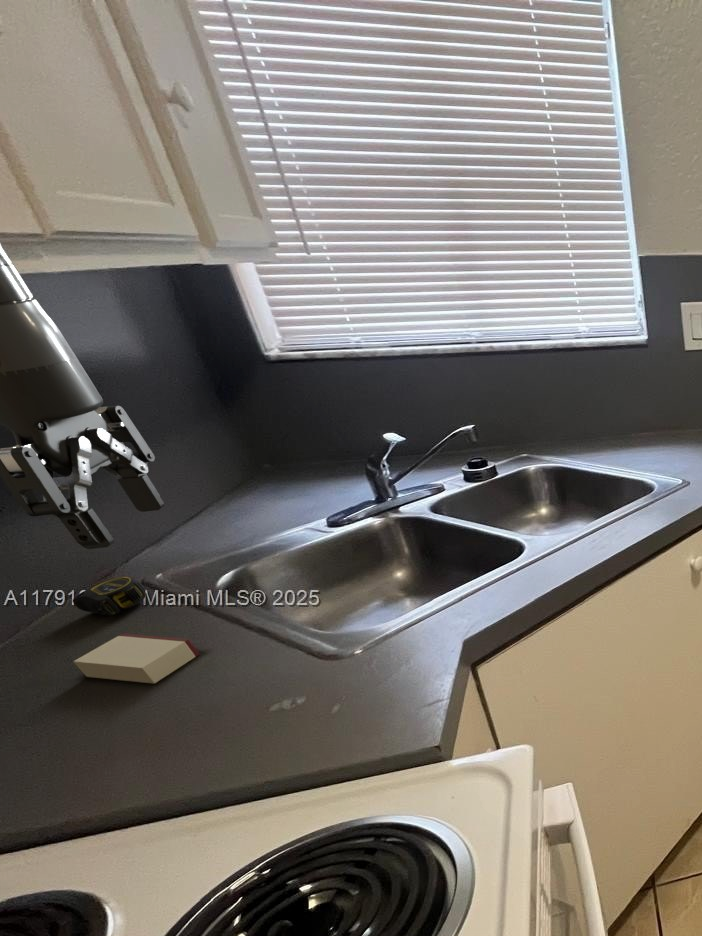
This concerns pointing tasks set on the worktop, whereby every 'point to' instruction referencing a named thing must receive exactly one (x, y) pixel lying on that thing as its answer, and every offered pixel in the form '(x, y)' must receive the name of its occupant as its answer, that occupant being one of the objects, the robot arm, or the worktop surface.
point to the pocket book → (137, 658)
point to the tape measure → (111, 596)
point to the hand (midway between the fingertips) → (127, 527)
